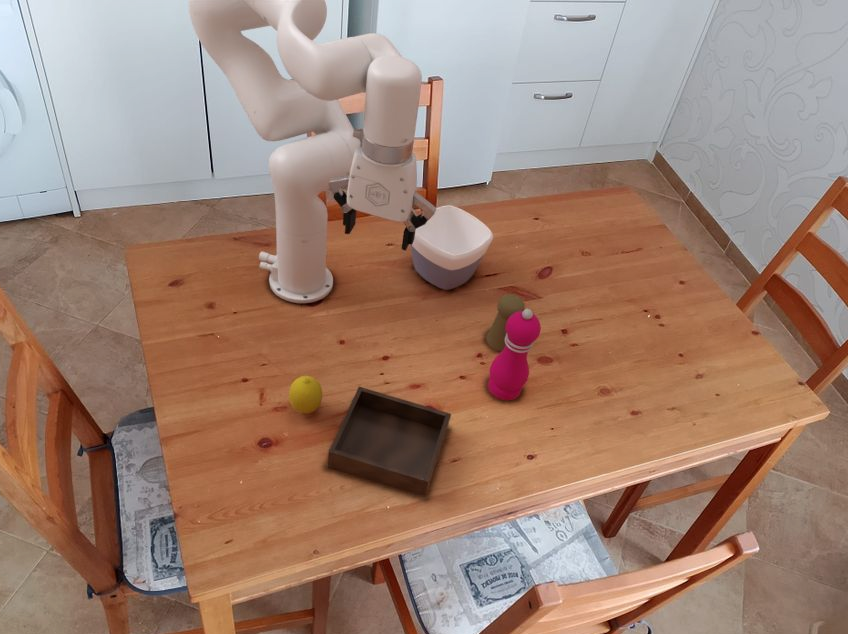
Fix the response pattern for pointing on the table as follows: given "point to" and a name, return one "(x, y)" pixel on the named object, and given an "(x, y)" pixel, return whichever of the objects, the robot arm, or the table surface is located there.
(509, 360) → the pepper mill
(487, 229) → the bowl
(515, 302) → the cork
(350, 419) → the dark wooden tray
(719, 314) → the table surface
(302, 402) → the lemon
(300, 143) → the robot arm
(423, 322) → the table surface
